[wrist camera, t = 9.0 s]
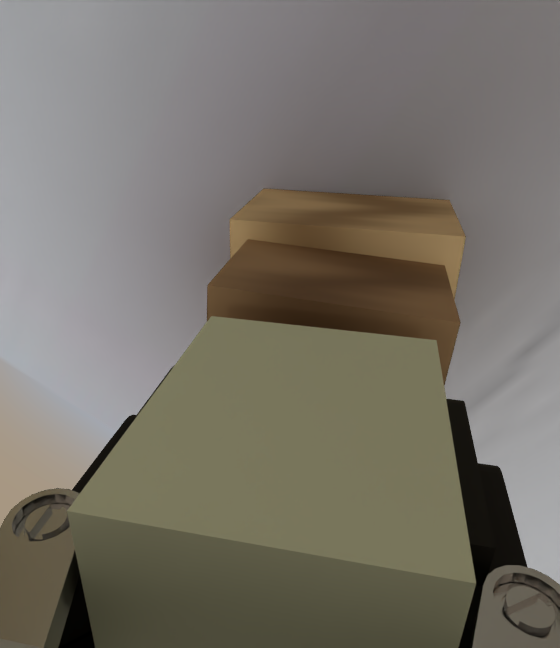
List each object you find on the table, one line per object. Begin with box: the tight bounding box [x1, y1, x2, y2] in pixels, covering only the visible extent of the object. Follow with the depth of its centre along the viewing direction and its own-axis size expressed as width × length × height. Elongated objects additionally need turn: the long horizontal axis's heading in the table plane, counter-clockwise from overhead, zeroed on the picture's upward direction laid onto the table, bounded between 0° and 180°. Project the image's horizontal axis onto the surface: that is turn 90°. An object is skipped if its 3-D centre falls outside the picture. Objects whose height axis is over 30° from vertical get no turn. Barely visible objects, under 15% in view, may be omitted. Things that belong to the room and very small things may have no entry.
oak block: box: [230, 189, 466, 298], centre depth 19 cm, size 7×7×5 cm
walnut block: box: [207, 239, 460, 385], centre depth 15 cm, size 6×6×4 cm
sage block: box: [67, 316, 476, 648], centre depth 10 cm, size 5×5×6 cm
